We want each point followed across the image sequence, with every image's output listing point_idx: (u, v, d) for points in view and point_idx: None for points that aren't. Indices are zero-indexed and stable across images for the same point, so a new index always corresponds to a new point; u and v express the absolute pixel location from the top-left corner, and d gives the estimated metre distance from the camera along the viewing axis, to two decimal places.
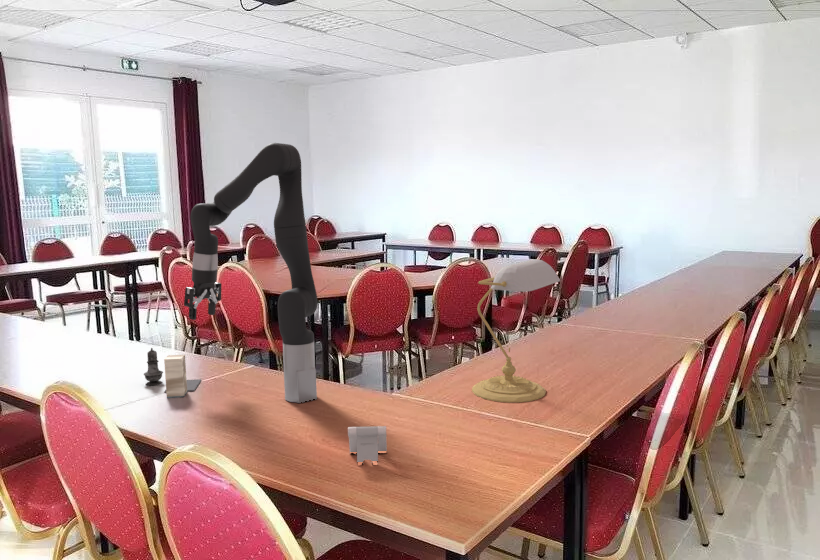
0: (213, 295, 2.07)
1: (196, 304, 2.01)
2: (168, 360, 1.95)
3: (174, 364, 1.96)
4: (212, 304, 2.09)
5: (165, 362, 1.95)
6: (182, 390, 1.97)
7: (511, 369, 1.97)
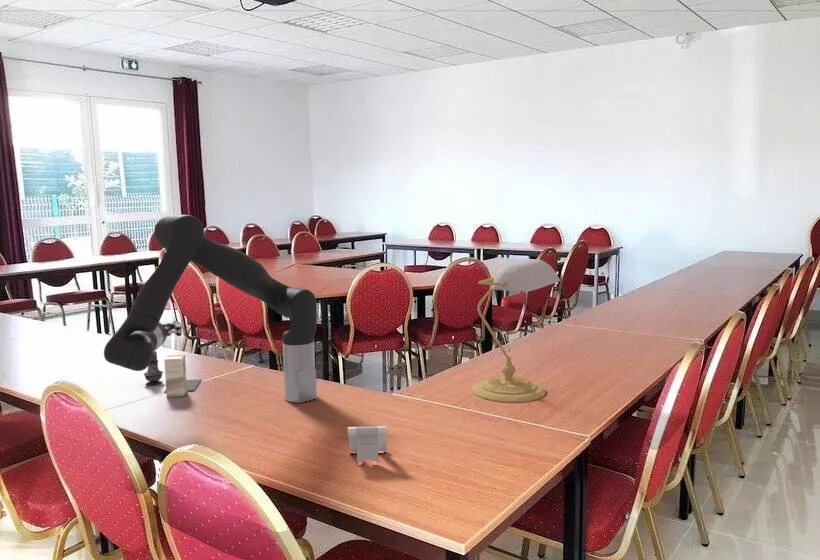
0: None
1: (171, 323, 1.81)
2: (168, 360, 1.95)
3: (174, 364, 1.96)
4: None
5: (165, 362, 1.95)
6: (182, 390, 1.97)
7: (511, 369, 1.97)
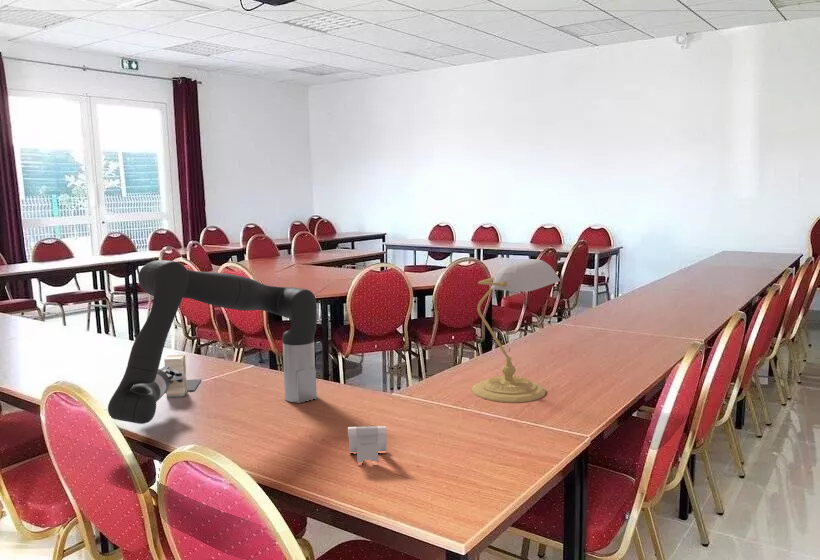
0: None
1: (165, 370, 1.83)
2: (168, 360, 1.95)
3: (174, 364, 1.96)
4: None
5: (165, 362, 1.95)
6: (182, 390, 1.97)
7: (511, 369, 1.97)
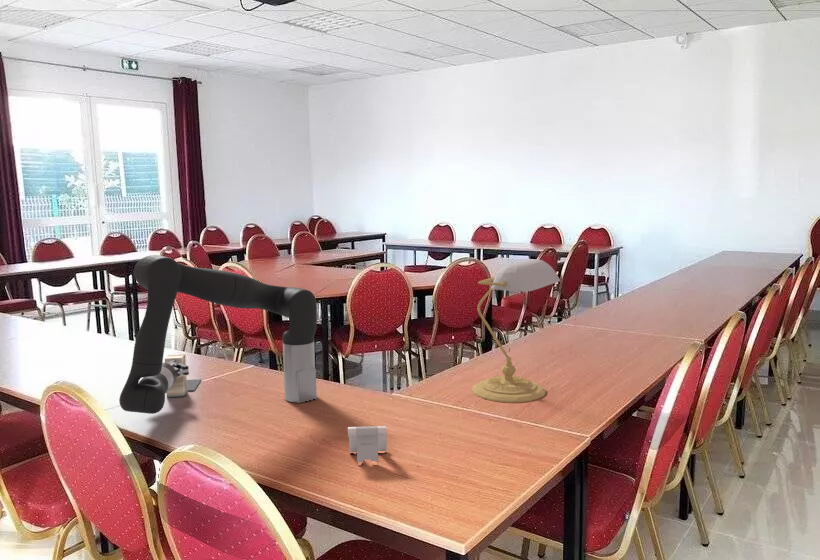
0: None
1: None
2: (168, 359, 1.96)
3: None
4: (170, 364, 1.93)
5: (165, 361, 1.96)
6: (182, 389, 1.97)
7: (511, 369, 1.97)
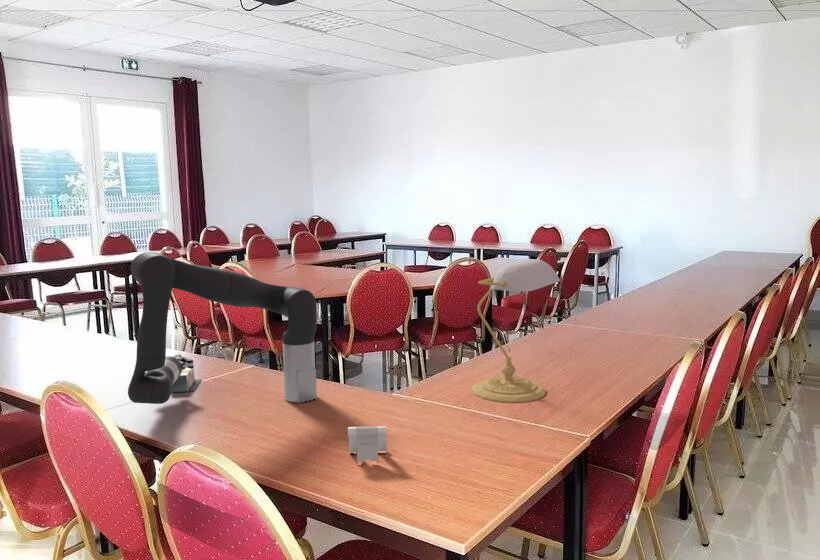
0: None
1: None
2: None
3: (186, 367, 2.11)
4: (175, 358, 2.00)
5: None
6: (186, 373, 2.03)
7: (511, 369, 1.97)
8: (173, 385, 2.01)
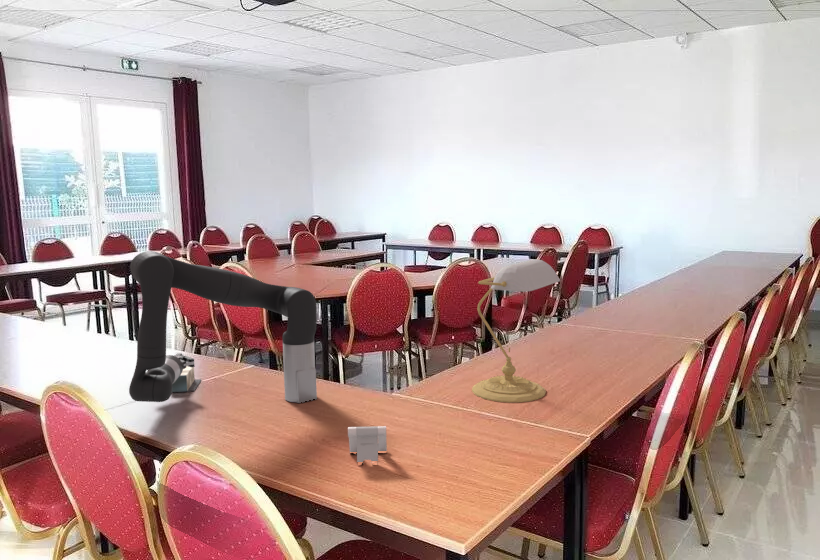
0: None
1: None
2: None
3: (186, 367, 2.11)
4: None
5: None
6: (186, 373, 2.03)
7: (511, 369, 1.97)
8: (173, 385, 2.01)
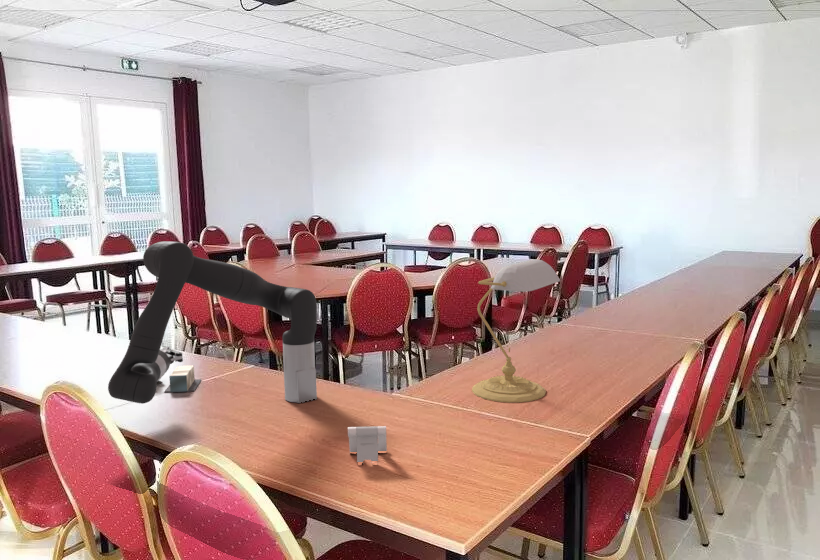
0: None
1: None
2: (181, 366, 2.12)
3: (186, 367, 2.11)
4: None
5: (178, 366, 2.12)
6: (186, 373, 2.03)
7: (511, 369, 1.97)
8: (173, 385, 2.01)
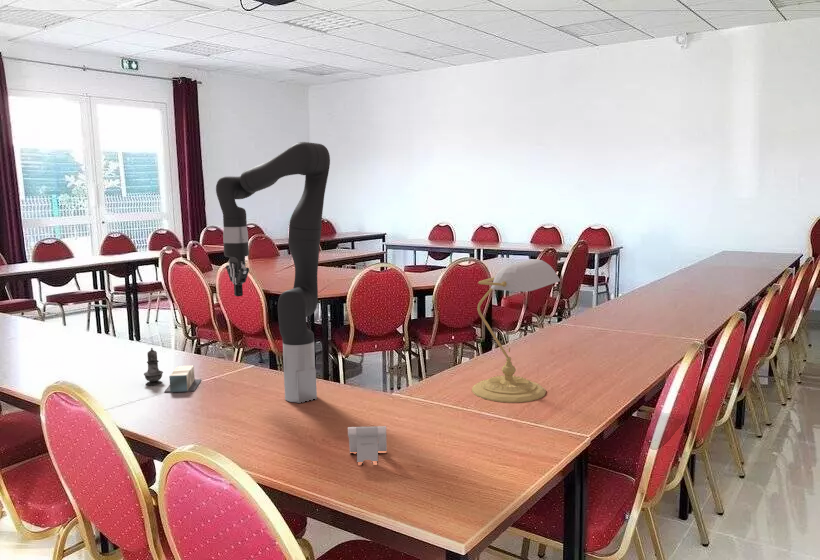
0: None
1: None
2: (181, 366, 2.12)
3: (186, 367, 2.11)
4: None
5: (178, 366, 2.12)
6: (186, 373, 2.03)
7: (511, 369, 1.97)
8: (173, 385, 2.01)
